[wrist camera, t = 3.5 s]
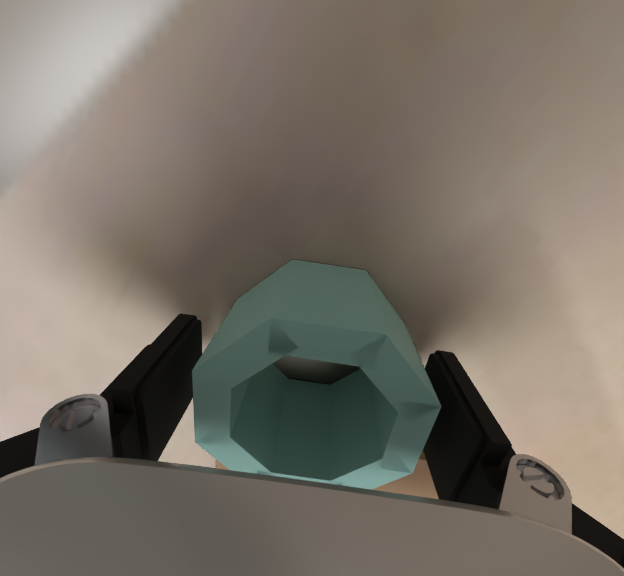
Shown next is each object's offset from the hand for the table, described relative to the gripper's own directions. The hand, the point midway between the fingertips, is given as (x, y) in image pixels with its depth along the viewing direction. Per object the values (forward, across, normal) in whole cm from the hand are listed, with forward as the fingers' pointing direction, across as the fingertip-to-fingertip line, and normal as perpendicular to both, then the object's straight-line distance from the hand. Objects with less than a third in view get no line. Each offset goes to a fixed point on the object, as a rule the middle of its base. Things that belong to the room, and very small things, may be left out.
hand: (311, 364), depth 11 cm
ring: (+2, 0, 0) cm, 2 cm away
